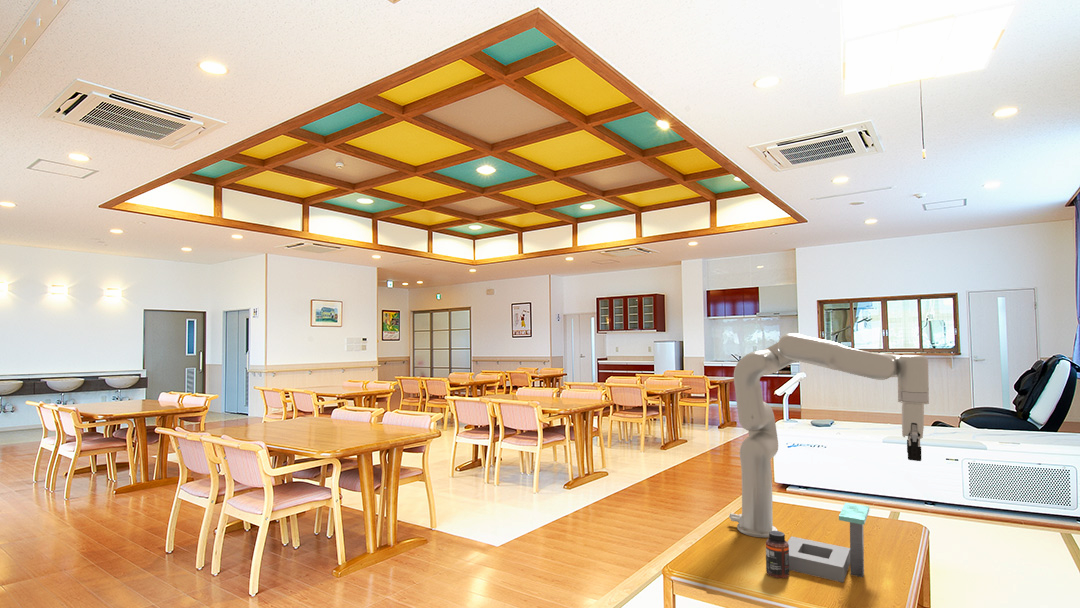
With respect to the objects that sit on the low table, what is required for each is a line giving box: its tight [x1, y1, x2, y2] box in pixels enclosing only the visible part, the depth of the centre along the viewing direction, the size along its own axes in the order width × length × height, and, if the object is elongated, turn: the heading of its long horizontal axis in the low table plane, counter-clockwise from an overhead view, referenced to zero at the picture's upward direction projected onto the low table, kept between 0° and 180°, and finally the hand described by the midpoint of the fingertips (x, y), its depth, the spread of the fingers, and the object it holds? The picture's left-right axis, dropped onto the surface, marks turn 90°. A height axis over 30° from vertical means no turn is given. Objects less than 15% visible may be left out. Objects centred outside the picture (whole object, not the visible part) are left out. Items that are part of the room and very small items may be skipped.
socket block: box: [786, 536, 850, 583], centre depth 164 cm, size 16×16×4 cm
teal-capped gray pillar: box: [838, 502, 870, 578], centre depth 158 cm, size 6×14×17 cm, turn 145°
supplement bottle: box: [765, 530, 790, 579], centre depth 157 cm, size 6×6×11 cm
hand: (914, 456), depth 165 cm, fingers open, 9 cm apart
